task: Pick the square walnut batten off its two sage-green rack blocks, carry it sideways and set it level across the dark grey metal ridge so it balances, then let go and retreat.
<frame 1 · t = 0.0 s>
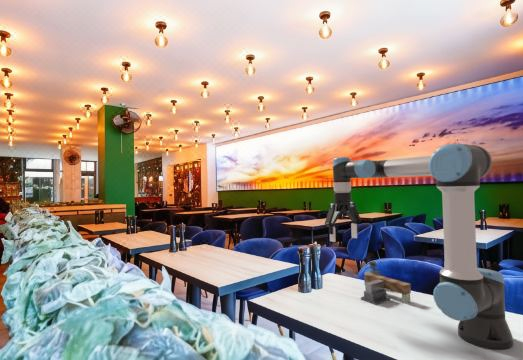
hand: (343, 239, 142), 28 cm above the table, fingers open, 13 cm apart
batten: (386, 287, 148), point 4 cm above the table, touching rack
fulcrum: (375, 299, 144), on the table
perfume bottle: (373, 286, 163), on the table
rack: (386, 295, 148), on the table
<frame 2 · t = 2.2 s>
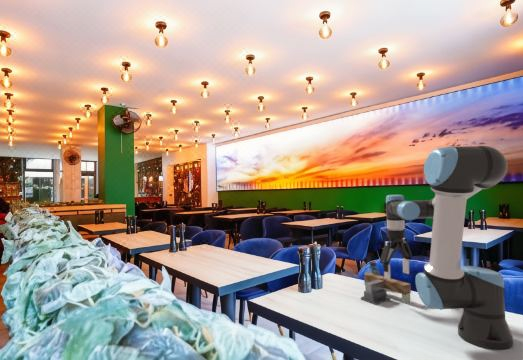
hand: (396, 276, 144), 11 cm above the table, fingers open, 13 cm apart
nothing on the table moved.
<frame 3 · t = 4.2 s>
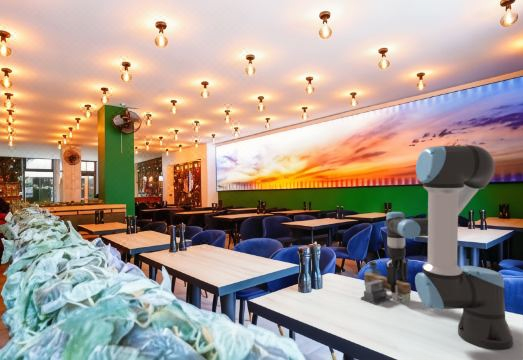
hand: (398, 298, 143), 1 cm above the table, fingers closed on batten, 4 cm apart
batten: (386, 287, 148), point 4 cm above the table, touching gripper, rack
everything else where it was.
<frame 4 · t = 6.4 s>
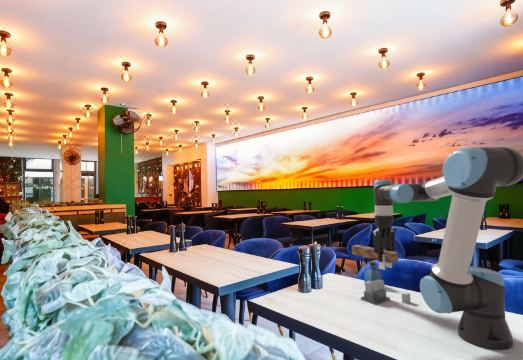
hand: (385, 268, 139), 16 cm above the table, fingers closed on batten, 4 cm apart
batten: (373, 257, 145), point 19 cm above the table, touching gripper
everything else where it was.
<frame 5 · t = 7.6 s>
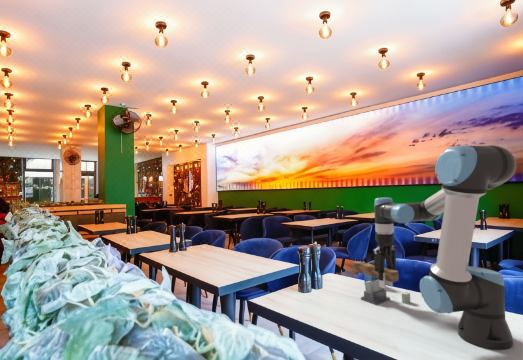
hand: (386, 286, 139), 8 cm above the table, fingers closed on batten, 4 cm apart
batten: (374, 275, 144), point 11 cm above the table, touching gripper
everything else where it was.
when the fingers open (6 cm above the table, at t = 8.7 s): batten stays where it is, resting on fulcrum.
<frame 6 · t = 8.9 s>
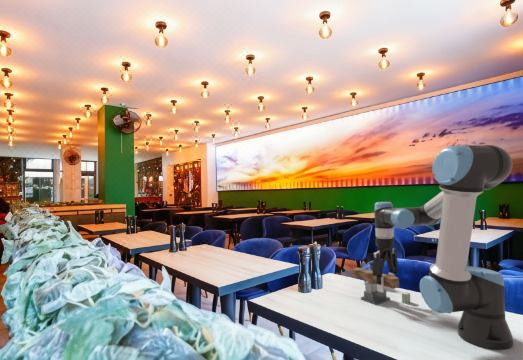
hand: (386, 289, 139), 6 cm above the table, fingers open, 7 cm apart
batten: (374, 281, 144), point 8 cm above the table, touching fulcrum
everything else where it was.
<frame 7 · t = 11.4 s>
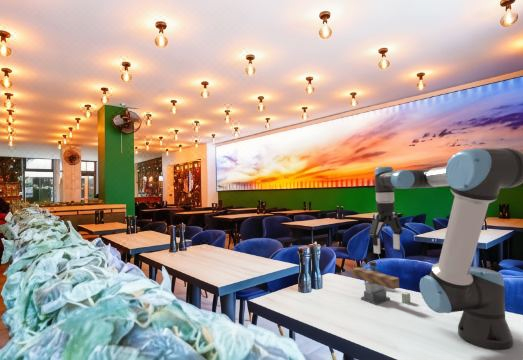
hand: (387, 251, 139), 23 cm above the table, fingers open, 13 cm apart
nothing on the table moved.
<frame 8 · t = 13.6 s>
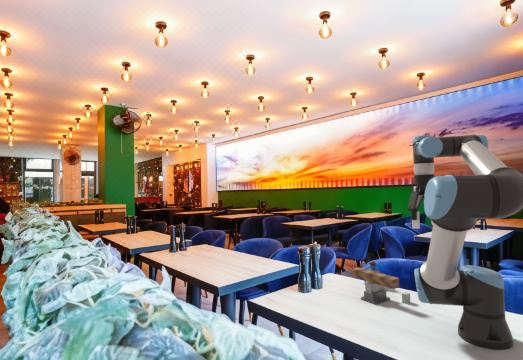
hand: (425, 226, 129), 35 cm above the table, fingers open, 13 cm apart
nothing on the table moved.
at the end: batten 0.0 cm off-centre on the fulcrum, point 8.0 cm above the fulcrum's base; batten tilted 0°; batten touching fulcrum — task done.
